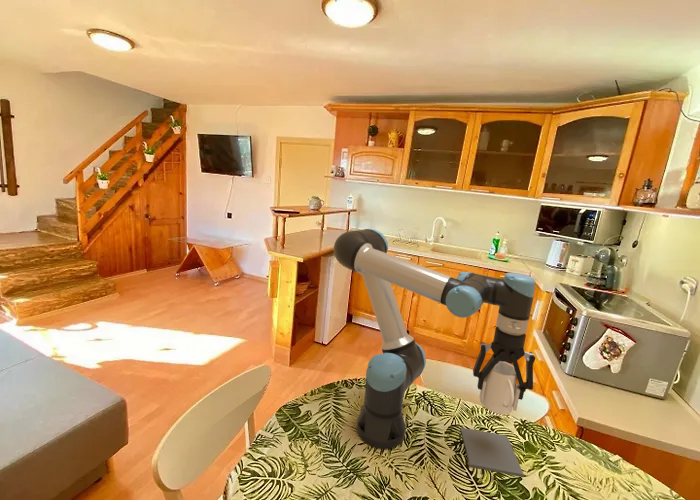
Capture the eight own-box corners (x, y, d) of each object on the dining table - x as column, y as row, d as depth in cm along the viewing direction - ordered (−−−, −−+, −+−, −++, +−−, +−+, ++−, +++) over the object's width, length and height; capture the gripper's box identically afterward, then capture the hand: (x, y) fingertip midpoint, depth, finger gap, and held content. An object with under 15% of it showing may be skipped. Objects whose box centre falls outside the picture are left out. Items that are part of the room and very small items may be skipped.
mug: (521, 425, 83) (529, 385, 81) (489, 420, 84) (496, 381, 82) (505, 397, 95) (512, 361, 93) (476, 393, 96) (482, 358, 93)
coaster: (469, 466, 86) (470, 464, 86) (460, 429, 100) (460, 427, 100) (523, 477, 84) (523, 474, 84) (506, 437, 98) (506, 435, 97)
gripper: (471, 327, 84) (459, 401, 89) (558, 344, 78) (541, 423, 82) (470, 317, 91) (459, 386, 96) (550, 332, 85) (534, 405, 89)
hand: (497, 403), depth 89 cm, fingers closed on mug, 8 cm apart
